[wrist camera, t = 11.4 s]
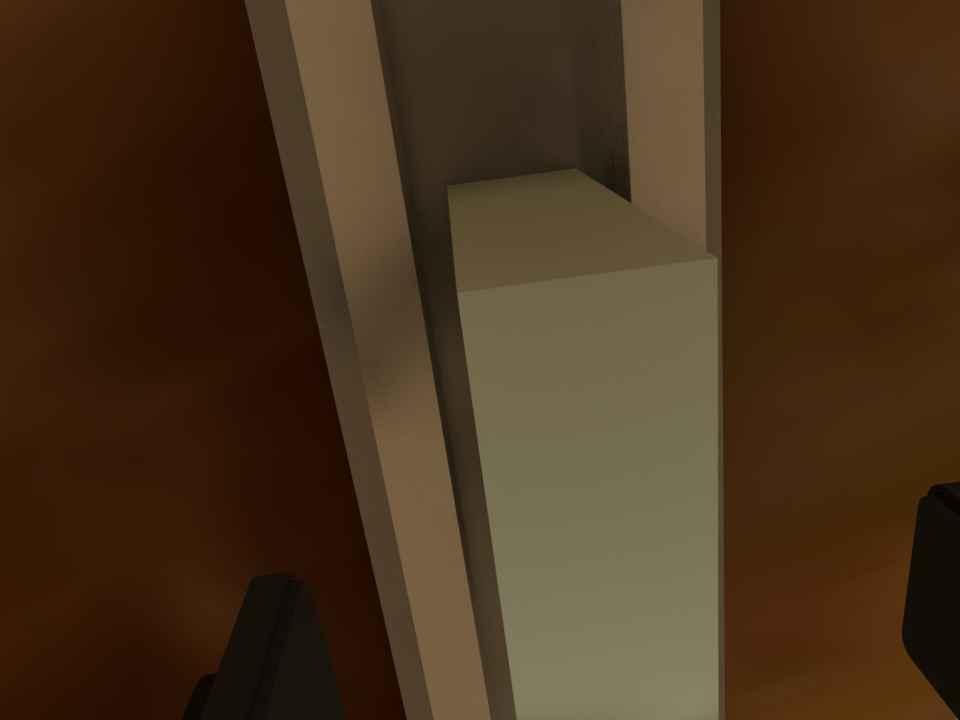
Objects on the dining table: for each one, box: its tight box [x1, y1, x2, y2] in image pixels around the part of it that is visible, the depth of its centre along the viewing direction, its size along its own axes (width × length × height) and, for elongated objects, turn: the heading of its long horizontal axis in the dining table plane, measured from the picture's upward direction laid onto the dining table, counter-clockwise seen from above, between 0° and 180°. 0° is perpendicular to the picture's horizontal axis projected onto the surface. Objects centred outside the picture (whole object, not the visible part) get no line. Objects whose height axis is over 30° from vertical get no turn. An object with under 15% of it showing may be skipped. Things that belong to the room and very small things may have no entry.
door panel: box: [447, 168, 718, 720], centre depth 15 cm, size 12×3×9 cm, turn 7°
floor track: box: [245, 0, 725, 720], centre depth 18 cm, size 30×10×4 cm, turn 8°
